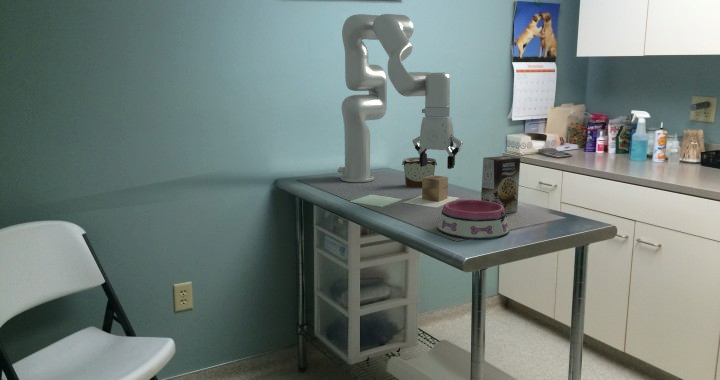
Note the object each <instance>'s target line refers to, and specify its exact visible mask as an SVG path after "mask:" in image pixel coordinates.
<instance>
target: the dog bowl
mask: <svg viewBox="0 0 720 380" xmlns="http://www.w3.org/2000/svg"><path fill="white" fill-rule="evenodd" d="M507 221H508V219H507V213H505V209H504V207H503V206H502V205H501V204H498V203H495V202H490V201H483V200H481V199H457V200H454V201H451V202H448V203H446V204H444V205H443V208H442V210H441V214H440V219H439V221H438V224H437V228H436V229H437V231H438V232H439V233H441V234H443V235H444V236H445V235H446V236H447V237H452V238H456V239H457V238H458V239H463V240H473V241H475V240H476V241H479V240H480V241H481V240H483V241H484V240H486V241H487V240H494V239H500V238H501V239H502V238H505V237H507V236H508V235H509V234H510V229H509V223H508V222H507Z"/></svg>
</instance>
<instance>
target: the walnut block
mask: <svg viewBox="0 0 720 380" xmlns="http://www.w3.org/2000/svg"><path fill="white" fill-rule="evenodd" d="M421 188H422V192H421V196H422V199H423V200H429V201H436V202H440V201H442V200H445V199H447V198H448V196H449V194H448V193H449V192H448V191H449V176H443V175H442V176H441V175H435V174H434V175H430V176H427V177H424V178H422V187H421Z"/></svg>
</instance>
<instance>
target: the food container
mask: <svg viewBox="0 0 720 380" xmlns="http://www.w3.org/2000/svg"><path fill="white" fill-rule="evenodd" d="M401 166H403V172H404V184H405V187H406V188H422V178H424V177H427V176H430V175H435V171H436V166H438V162H437V160H436V158H431V157H427V165H426V166H423V167H421V166H420V156H419V157H406V158H403V160H402V163H401Z"/></svg>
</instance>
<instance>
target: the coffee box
mask: <svg viewBox="0 0 720 380" xmlns="http://www.w3.org/2000/svg"><path fill="white" fill-rule="evenodd" d="M520 171H521V158H520V157H517V156H509V155H500V156H488V157H487V156H485V157H483V160H482V176H481V190H480V191H481V194H480V195H481V196H480V200H483V201H490V202H495V203H498V204H501V205H502V206H503V207H504V209H505V213H506V214H511V213H517V212H518V207H519V206H518V205H519V204H518V203H519V202H518V201H519V190H520V188H519V186H520V174H521V172H520Z"/></svg>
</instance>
